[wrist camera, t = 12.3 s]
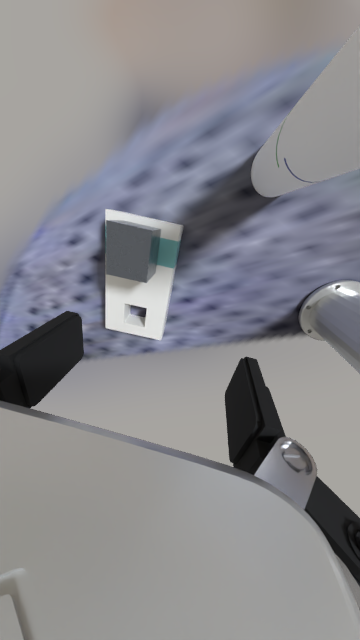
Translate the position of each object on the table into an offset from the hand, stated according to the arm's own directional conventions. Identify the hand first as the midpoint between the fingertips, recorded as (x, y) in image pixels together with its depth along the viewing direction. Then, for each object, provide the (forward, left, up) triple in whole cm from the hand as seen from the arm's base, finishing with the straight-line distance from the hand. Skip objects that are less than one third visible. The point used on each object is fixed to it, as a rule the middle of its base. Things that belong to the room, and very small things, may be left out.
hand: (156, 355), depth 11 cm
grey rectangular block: (+8, -2, -28) cm, 29 cm away
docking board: (+8, +5, -28) cm, 29 cm away
